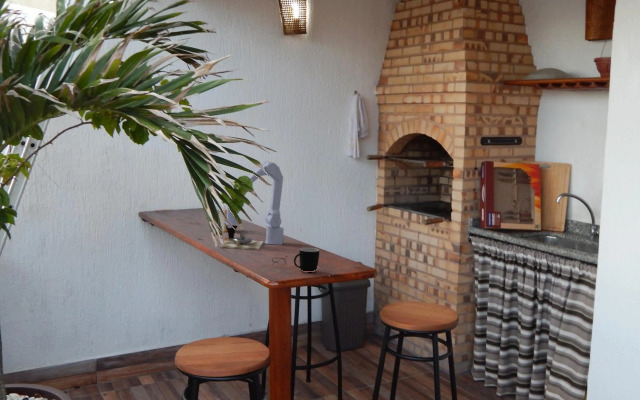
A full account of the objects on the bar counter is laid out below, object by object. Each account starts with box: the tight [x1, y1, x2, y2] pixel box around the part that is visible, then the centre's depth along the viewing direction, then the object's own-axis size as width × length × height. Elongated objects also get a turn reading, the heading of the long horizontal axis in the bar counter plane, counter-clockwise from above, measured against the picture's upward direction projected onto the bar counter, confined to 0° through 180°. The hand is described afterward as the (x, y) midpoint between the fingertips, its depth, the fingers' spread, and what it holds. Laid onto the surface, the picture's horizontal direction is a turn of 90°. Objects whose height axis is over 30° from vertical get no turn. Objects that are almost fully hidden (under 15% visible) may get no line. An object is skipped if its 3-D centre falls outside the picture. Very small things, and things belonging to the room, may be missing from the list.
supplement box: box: [218, 208, 228, 233], centre depth 402 cm, size 8×5×13 cm, turn 143°
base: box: [219, 232, 264, 251], centre depth 362 cm, size 20×20×6 cm
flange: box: [224, 236, 253, 243], centre depth 362 cm, size 14×10×1 cm
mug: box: [293, 247, 320, 271], centre depth 308 cm, size 12×9×10 cm
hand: (231, 239), depth 365 cm, fingers closed
